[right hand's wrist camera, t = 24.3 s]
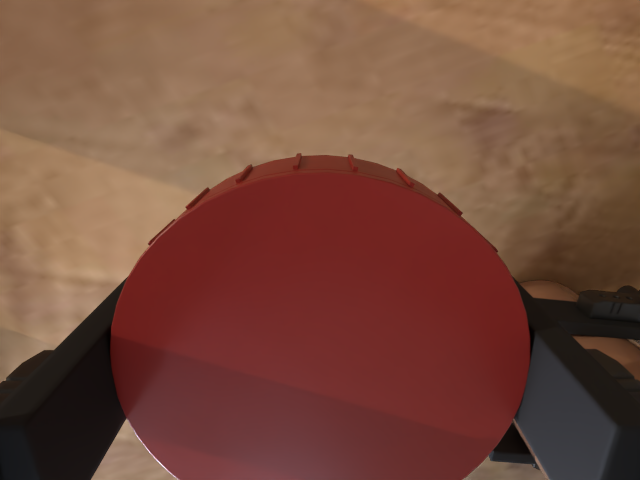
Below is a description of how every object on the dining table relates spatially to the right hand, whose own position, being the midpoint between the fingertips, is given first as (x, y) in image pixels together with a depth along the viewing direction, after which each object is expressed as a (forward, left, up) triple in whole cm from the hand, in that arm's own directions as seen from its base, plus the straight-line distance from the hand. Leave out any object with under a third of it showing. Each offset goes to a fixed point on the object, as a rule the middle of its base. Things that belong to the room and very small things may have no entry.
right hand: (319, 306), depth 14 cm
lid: (0, 0, +3) cm, 3 cm away
